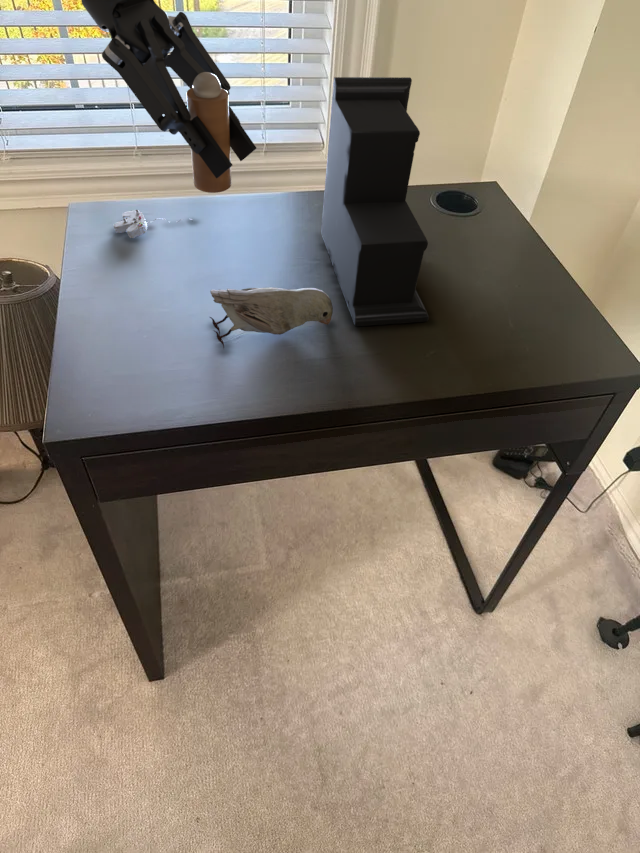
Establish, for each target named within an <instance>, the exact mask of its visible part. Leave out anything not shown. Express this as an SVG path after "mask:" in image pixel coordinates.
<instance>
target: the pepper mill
mask: <svg viewBox="0 0 640 853" xmlns="http://www.w3.org/2000/svg"><path fill="white" fill-rule="evenodd" d="M185 94H186V95H185V96H186V107H187V109H188V111H189V113H190V115H191V119H190V120H192V119H193V118H194V117H196V116H198V117H199V118H200V120H201V121H202V123H203V124H204V125H205V127H206V128H207V130H208V131H209V132H210V134H211V135H212V137H213V138H214V139H215V141H216V142H217V144H218V145H219V146H220V148H221V149H222V151H223V152H224V153H225V155H226V156H227V158H228V159H229V161H230V162H231V163H232V160H231V159H232V158H231V156H232V155H231V147H230V128H229V106H230V104H229V96H228V92H227V91H226V90H224V89H222V88H221V84H220V82H219V80H218V78H217V77H216V76H215V75H214V74H212V73H210V72H202V73H200V74H198V75H197V76H196V77H195V79H194V82H193V88H191V89H190V88H189V89H188V90H187V91H186V93H185ZM190 154H191V155H190V156H191V157H190V158H191V168H192V181H193V186H194V187H195V189H196V190H199V191H200V192H204V193H209V194H219V193H222V192H225V191H228V190H229V189H230V188H231V187H232V184H233V183H232V166H231V167H230V168H229V169H228V170H227V171H225V172H224V173H223V174H222V175H221V176H220V177H218V178H217V179H216V177H215V176H214V174H213V173H212V172H211V170H210V169H209V168H208V166H207V165H206V164H205V162H204V161H203V159H202V158H201V157H200V155H199V154H196V153H195V152H194V151H193V150H192V149H191V148H190Z"/></svg>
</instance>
